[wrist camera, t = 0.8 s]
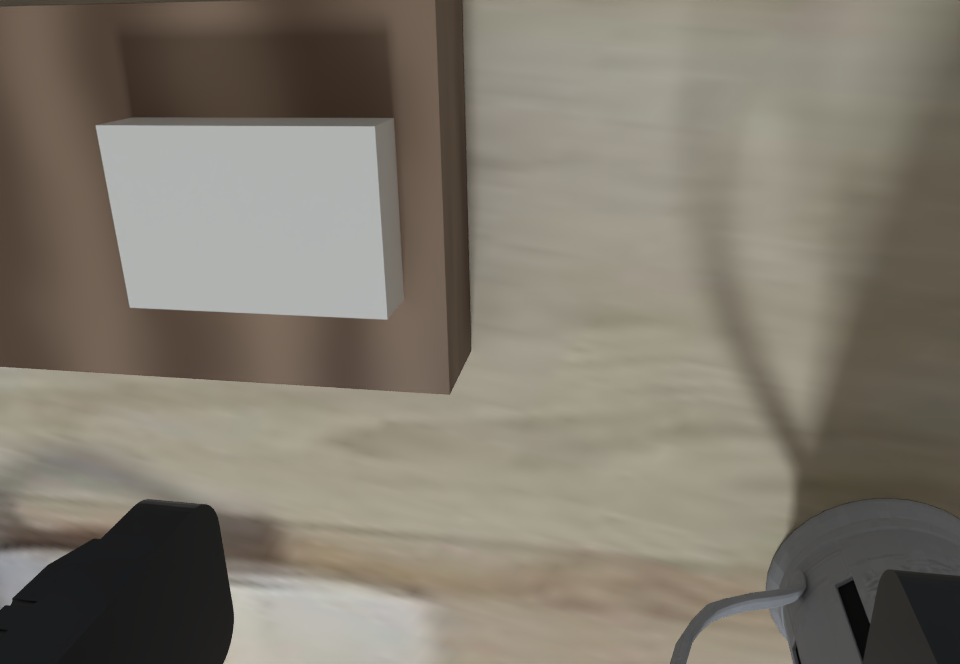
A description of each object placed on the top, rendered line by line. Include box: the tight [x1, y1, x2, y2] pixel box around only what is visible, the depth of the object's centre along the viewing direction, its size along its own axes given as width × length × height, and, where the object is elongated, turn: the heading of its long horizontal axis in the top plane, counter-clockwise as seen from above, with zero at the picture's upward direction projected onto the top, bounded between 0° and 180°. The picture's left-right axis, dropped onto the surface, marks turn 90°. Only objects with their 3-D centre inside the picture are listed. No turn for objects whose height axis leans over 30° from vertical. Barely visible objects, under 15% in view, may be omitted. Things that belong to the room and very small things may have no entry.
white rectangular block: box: [95, 117, 404, 320], centre depth 26 cm, size 9×6×2 cm, turn 92°
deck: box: [0, 0, 471, 395], centre depth 30 cm, size 20×13×4 cm, turn 92°
